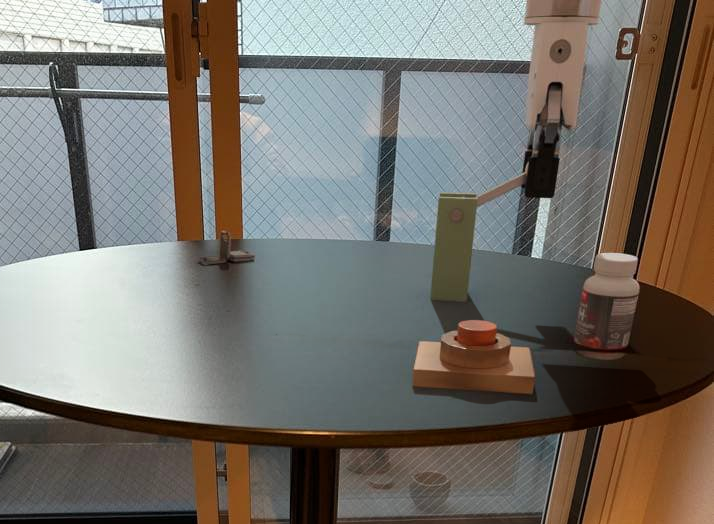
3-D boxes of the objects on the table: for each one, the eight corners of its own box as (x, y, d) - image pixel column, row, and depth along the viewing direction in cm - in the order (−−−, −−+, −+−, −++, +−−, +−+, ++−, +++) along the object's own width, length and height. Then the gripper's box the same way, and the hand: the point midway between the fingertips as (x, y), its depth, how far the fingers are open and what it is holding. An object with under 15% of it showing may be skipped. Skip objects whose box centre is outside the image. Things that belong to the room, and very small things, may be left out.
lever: (556, 175, 93) (547, 148, 91) (559, 179, 90) (549, 150, 89) (451, 227, 97) (440, 202, 96) (450, 232, 95) (440, 206, 93)
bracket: (495, 299, 103) (509, 192, 97) (497, 317, 96) (512, 202, 89) (402, 294, 105) (409, 188, 99) (397, 312, 98) (404, 199, 91)
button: (494, 339, 78) (496, 321, 77) (495, 350, 75) (497, 331, 74) (456, 336, 78) (458, 318, 77) (456, 347, 75) (457, 329, 74)
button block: (527, 363, 81) (532, 329, 79) (532, 394, 73) (538, 357, 72) (417, 357, 83) (420, 323, 81) (412, 386, 75) (414, 349, 73)
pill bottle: (560, 349, 85) (577, 253, 80) (599, 343, 87) (618, 249, 82) (596, 364, 81) (616, 264, 76) (636, 357, 83) (658, 259, 78)
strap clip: (248, 256, 125) (247, 227, 123) (256, 260, 123) (255, 230, 121) (196, 261, 122) (195, 231, 120) (204, 265, 120) (202, 235, 117)
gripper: (612, 2, 75) (578, 205, 85) (589, 13, 90) (562, 184, 99) (530, 2, 77) (505, 202, 86) (521, 13, 91) (501, 182, 100)
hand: (536, 191), depth 92 cm, fingers open, 7 cm apart
